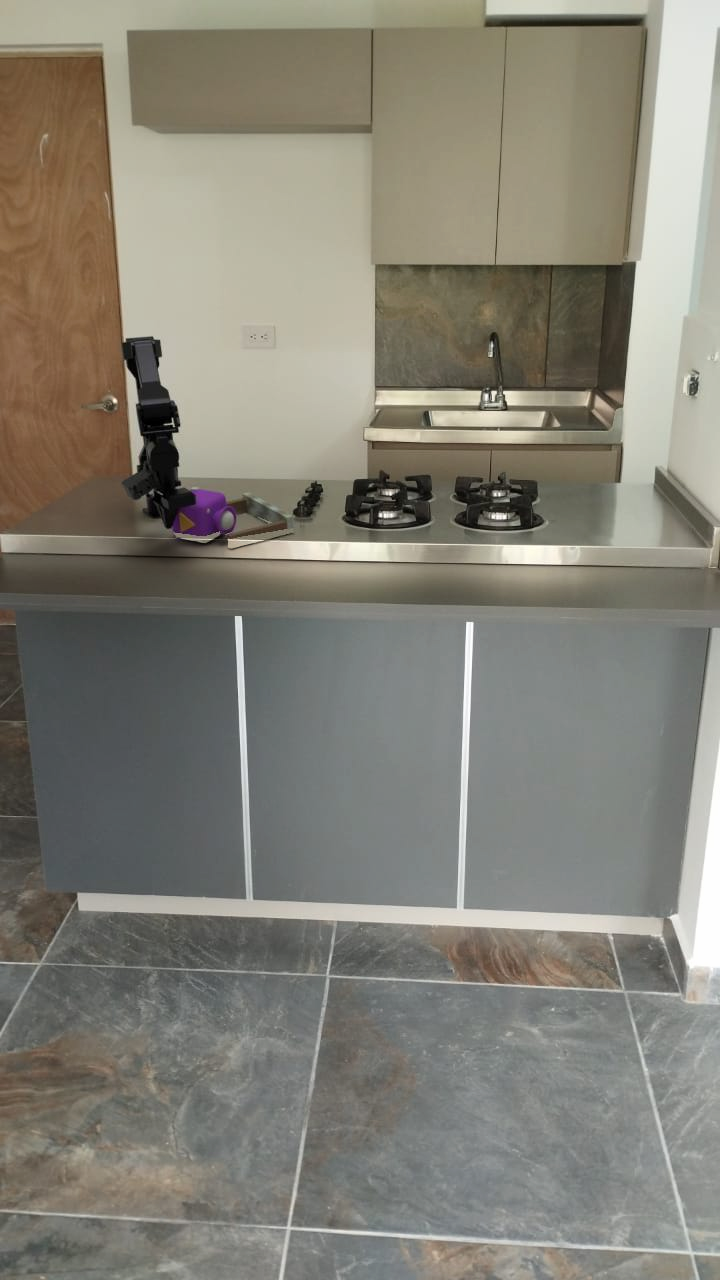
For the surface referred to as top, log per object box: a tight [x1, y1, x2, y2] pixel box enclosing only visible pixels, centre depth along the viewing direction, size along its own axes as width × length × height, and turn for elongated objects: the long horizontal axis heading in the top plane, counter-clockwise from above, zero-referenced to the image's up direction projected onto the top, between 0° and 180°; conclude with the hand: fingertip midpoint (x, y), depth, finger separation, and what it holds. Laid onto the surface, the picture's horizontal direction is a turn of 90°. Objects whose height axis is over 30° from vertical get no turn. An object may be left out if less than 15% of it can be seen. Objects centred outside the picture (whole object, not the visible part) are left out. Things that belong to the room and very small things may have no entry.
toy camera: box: [171, 486, 237, 536], centre depth 233 cm, size 11×14×10 cm
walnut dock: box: [226, 492, 294, 539], centre depth 239 cm, size 20×16×4 cm
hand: (168, 528), depth 230 cm, fingers closed
